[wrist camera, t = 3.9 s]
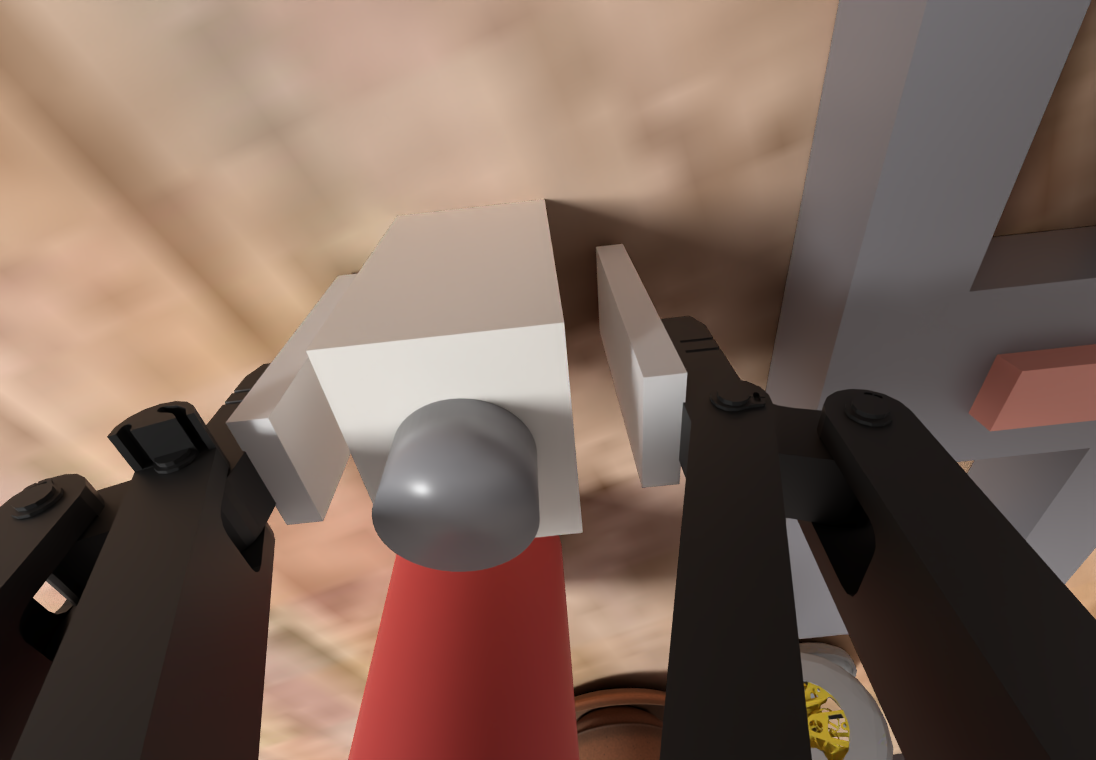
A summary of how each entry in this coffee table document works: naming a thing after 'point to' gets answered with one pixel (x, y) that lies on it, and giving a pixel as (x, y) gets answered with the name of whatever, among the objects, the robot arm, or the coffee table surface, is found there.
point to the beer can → (472, 664)
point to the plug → (457, 386)
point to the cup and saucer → (620, 724)
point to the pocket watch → (835, 679)
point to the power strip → (945, 264)
